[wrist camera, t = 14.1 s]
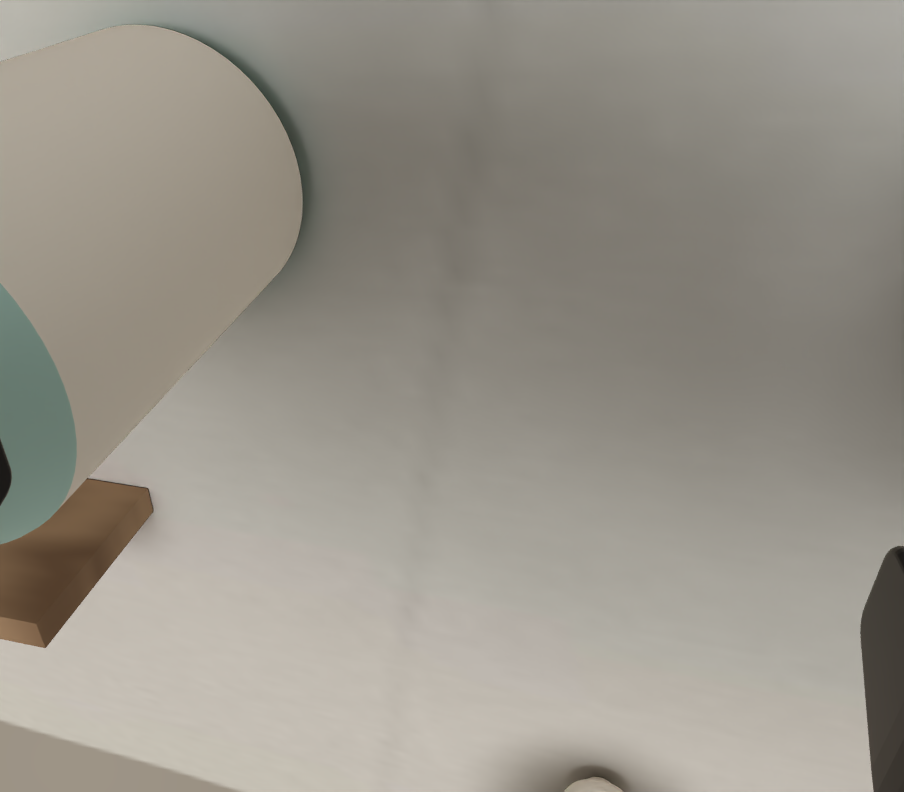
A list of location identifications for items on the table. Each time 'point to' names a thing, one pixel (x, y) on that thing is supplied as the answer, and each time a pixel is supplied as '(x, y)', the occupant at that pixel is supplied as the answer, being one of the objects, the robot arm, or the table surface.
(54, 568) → the three-sided wooden tray
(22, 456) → the can
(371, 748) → the table surface
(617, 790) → the lightbulb
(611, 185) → the table surface
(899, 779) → the robot arm
